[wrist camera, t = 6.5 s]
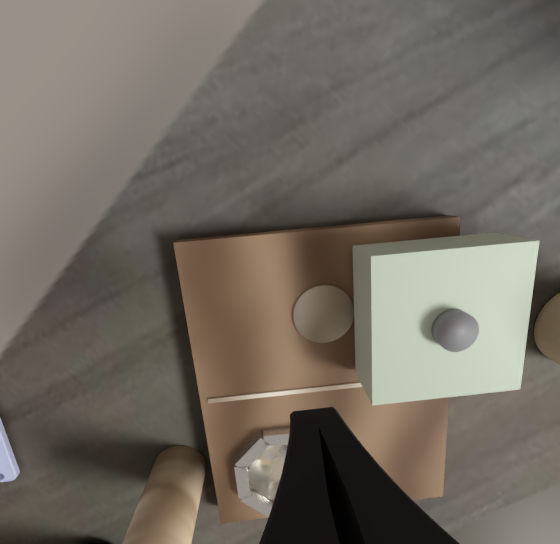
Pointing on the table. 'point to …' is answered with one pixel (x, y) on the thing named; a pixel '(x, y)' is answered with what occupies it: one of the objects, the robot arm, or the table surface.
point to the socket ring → (261, 468)
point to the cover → (442, 315)
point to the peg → (169, 499)
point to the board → (297, 348)
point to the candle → (549, 329)
